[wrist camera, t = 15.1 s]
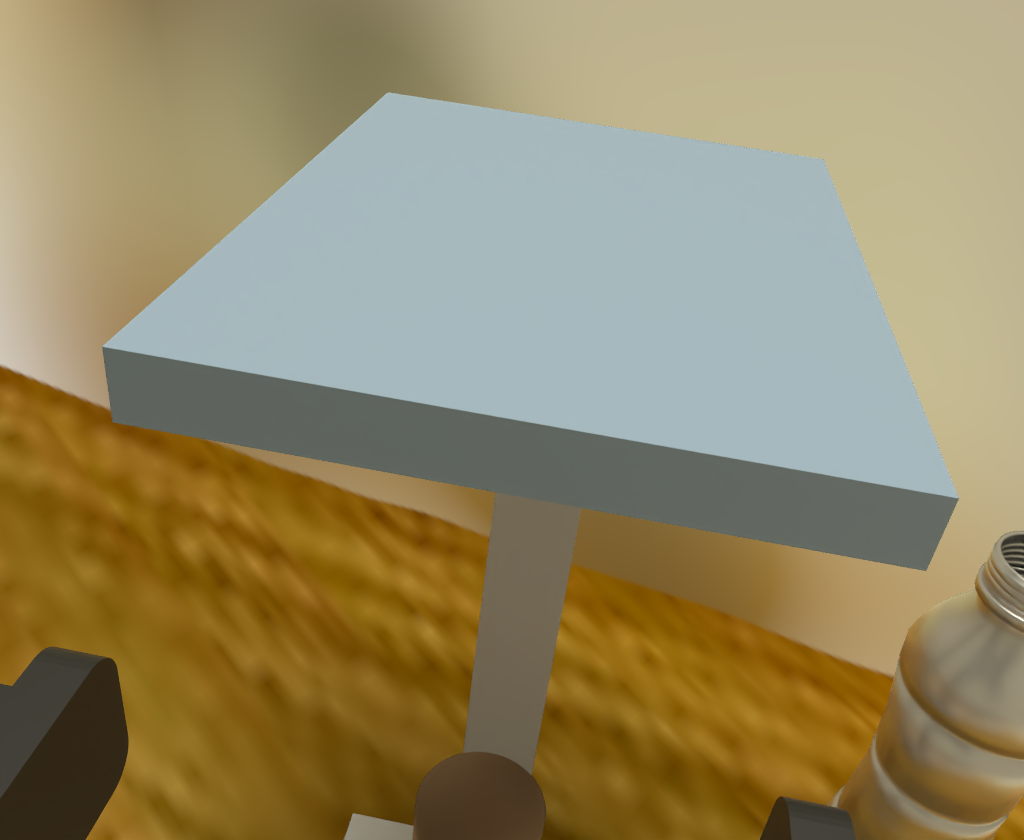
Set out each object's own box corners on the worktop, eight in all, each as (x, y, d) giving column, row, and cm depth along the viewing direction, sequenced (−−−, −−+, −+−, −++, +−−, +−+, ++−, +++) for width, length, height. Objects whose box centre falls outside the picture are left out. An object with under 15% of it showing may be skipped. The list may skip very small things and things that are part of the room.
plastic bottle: (826, 806, 47) (974, 481, 37) (965, 891, 44) (1171, 564, 34) (774, 902, 43) (926, 563, 32) (924, 1004, 40) (1149, 667, 29)
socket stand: (619, 1250, 32) (958, 497, 15) (214, 1153, 33) (101, 347, 16) (641, 792, 47) (823, 159, 30) (363, 735, 48) (387, 92, 31)
